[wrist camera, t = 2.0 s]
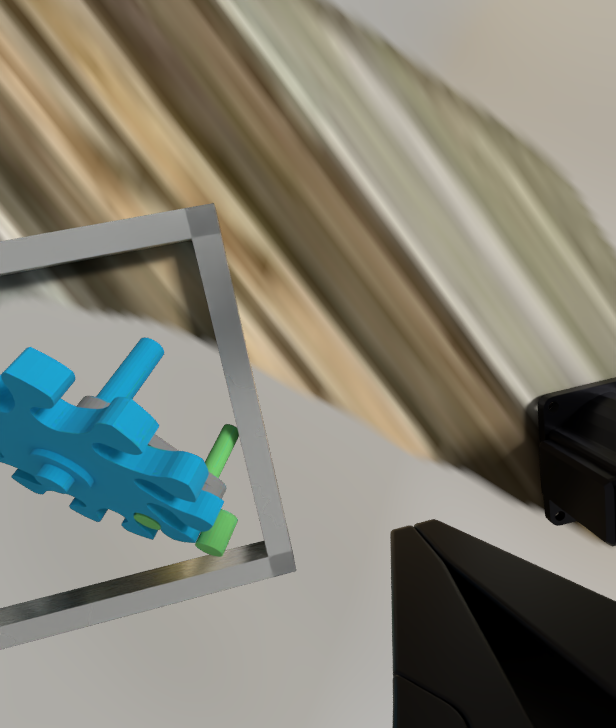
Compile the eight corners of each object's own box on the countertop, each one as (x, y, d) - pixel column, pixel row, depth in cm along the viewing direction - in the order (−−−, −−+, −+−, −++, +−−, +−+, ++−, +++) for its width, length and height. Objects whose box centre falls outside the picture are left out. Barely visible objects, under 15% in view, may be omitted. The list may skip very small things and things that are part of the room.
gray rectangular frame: (215, 207, 17) (213, 203, 16) (293, 553, 21) (296, 571, 20) (-333, 305, 15) (-381, 309, 14) (-143, 667, 19) (-167, 694, 18)
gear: (-126, 425, 15) (-117, 313, 9) (2, 309, 19) (79, 165, 12) (145, 572, 20) (296, 577, 13) (207, 455, 23) (350, 409, 16)
